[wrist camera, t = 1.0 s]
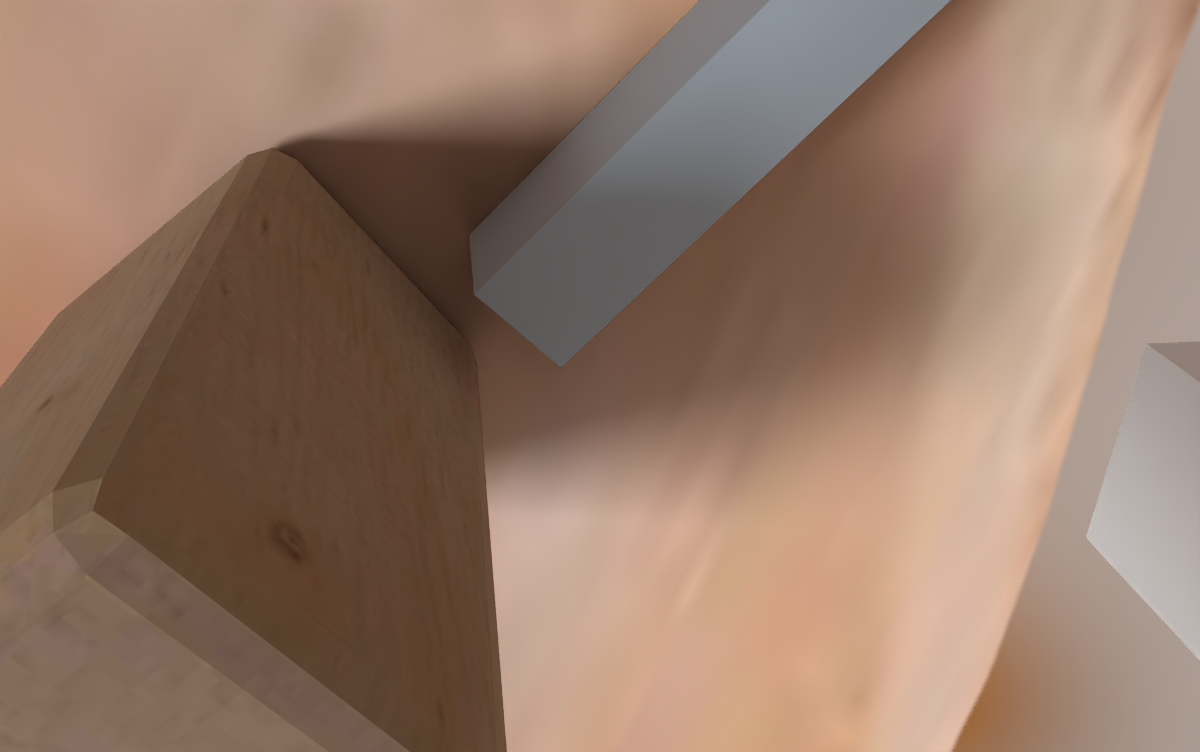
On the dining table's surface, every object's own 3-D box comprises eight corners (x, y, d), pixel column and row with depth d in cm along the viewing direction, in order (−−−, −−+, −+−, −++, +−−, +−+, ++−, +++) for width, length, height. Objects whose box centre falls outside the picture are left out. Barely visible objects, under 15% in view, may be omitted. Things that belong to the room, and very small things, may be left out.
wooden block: (277, 125, 32) (80, 491, 14) (487, 351, 36) (537, 843, 19) (45, 320, 33) (-386, 860, 16) (273, 512, 38) (133, 1101, 20)
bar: (469, 235, 34) (474, 294, 30) (1070, -377, 28) (1186, -414, 24) (545, 301, 36) (560, 367, 31) (1132, -267, 30) (1251, -284, 26)
